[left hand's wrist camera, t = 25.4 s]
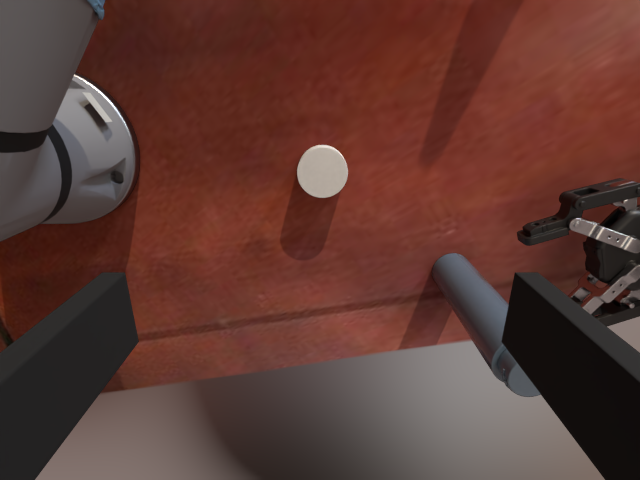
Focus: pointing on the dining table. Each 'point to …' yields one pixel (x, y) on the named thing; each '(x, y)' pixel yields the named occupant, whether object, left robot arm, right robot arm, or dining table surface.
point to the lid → (322, 171)
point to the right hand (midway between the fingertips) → (527, 278)
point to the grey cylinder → (481, 318)
